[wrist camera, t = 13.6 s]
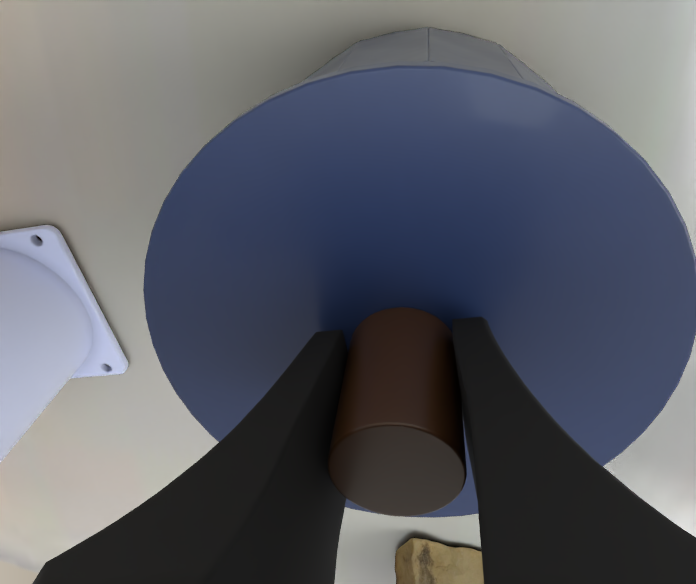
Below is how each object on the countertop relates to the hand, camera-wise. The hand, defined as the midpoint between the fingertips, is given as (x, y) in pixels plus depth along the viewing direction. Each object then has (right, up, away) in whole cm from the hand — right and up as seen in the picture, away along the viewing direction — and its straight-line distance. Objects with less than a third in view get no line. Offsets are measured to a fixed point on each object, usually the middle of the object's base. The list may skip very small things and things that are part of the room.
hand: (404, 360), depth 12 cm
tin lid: (0, 0, +1) cm, 1 cm away
